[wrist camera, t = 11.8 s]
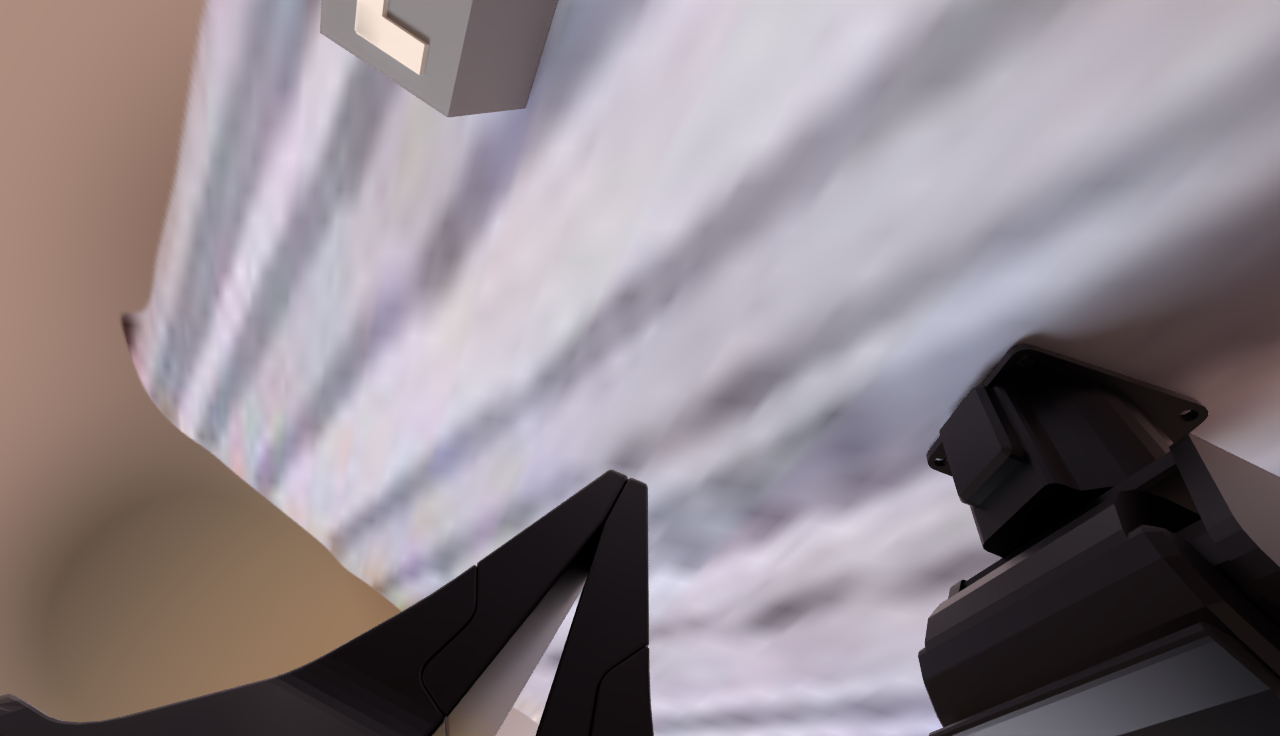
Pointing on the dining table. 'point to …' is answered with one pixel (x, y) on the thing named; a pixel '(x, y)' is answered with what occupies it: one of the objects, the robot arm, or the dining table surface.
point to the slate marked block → (447, 47)
